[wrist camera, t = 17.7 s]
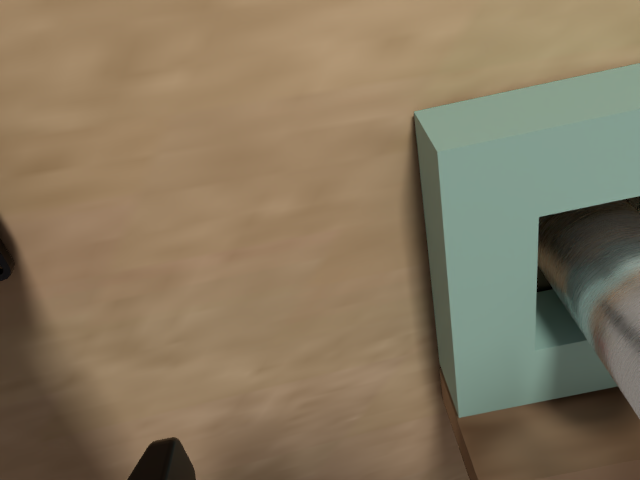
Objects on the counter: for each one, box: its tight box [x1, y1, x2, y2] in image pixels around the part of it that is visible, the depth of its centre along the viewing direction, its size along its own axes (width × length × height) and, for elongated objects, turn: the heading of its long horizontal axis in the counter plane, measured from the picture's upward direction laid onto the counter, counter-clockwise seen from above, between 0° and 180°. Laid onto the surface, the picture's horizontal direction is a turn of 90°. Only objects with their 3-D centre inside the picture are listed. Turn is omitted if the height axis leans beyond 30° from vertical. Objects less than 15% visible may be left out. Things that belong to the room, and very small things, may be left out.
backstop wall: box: [439, 369, 640, 480], centre depth 25 cm, size 12×2×6 cm, turn 101°
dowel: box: [537, 199, 640, 419], centre depth 20 cm, size 4×4×8 cm
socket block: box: [414, 63, 640, 418], centre depth 21 cm, size 12×12×3 cm
